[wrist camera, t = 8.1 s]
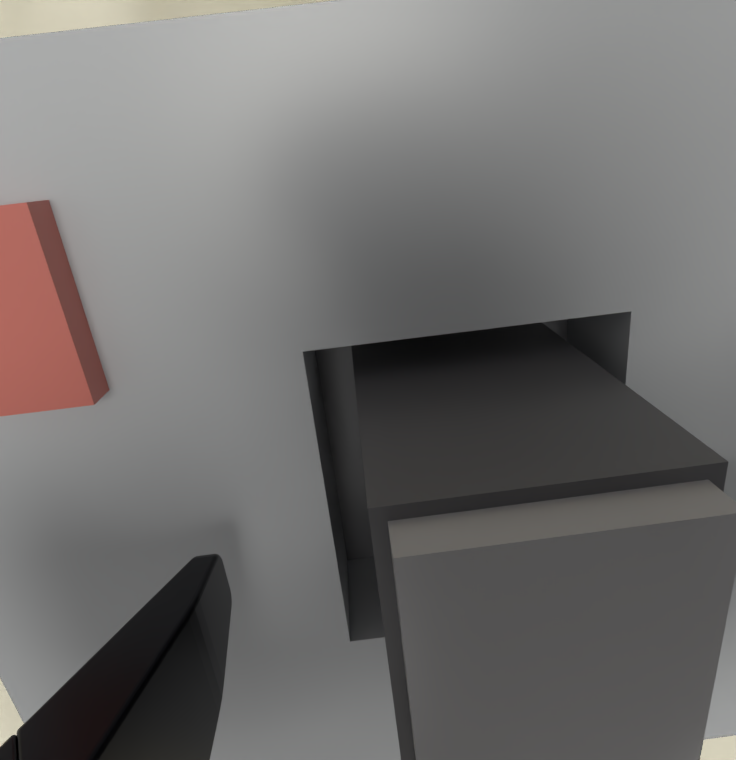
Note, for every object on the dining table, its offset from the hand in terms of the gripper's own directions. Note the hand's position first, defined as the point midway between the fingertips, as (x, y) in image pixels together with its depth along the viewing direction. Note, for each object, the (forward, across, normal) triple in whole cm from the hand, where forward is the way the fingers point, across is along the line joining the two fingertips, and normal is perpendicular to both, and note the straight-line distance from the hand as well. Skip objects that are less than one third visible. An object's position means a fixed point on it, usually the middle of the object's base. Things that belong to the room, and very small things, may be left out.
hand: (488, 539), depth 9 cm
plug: (+4, 0, 0) cm, 4 cm away
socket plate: (+4, 0, 0) cm, 4 cm away
